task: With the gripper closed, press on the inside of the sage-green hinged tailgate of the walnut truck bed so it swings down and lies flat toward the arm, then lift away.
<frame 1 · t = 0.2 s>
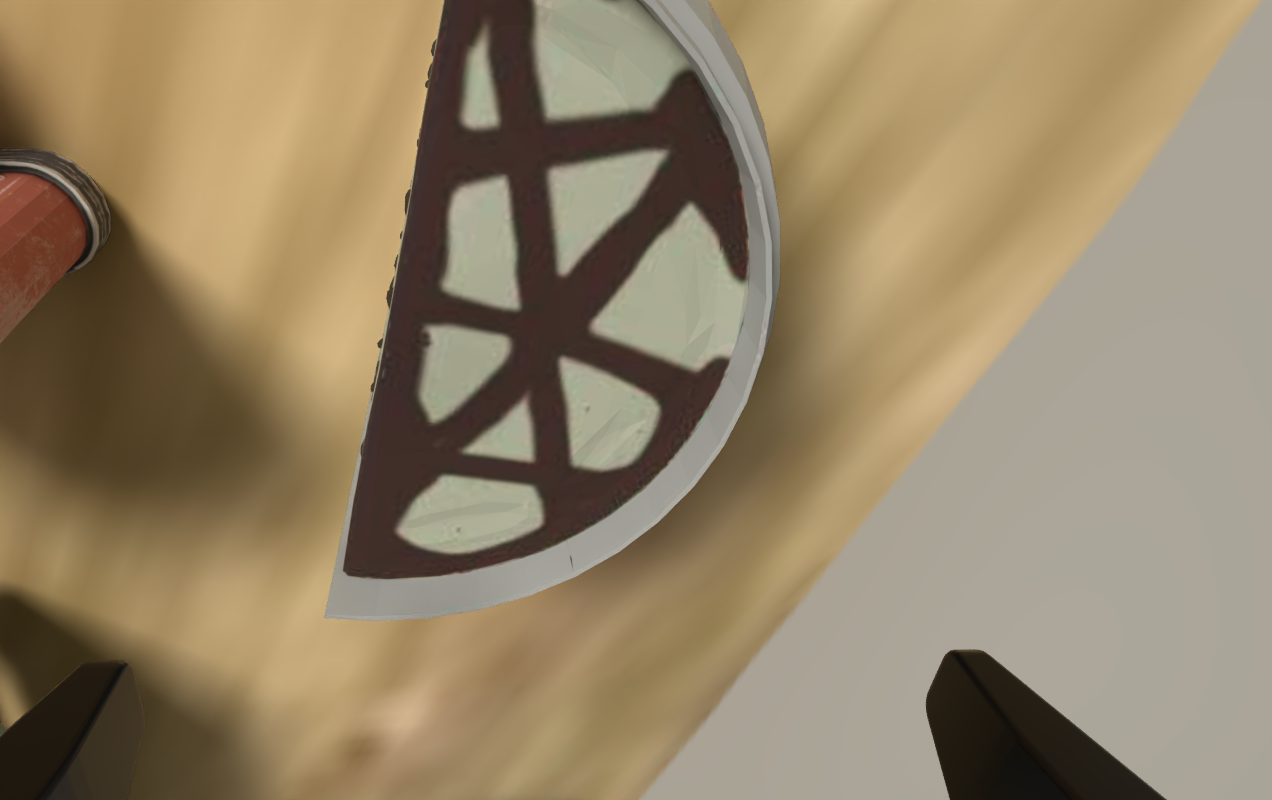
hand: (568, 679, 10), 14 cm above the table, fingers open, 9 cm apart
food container: (553, 151, 21), on the table
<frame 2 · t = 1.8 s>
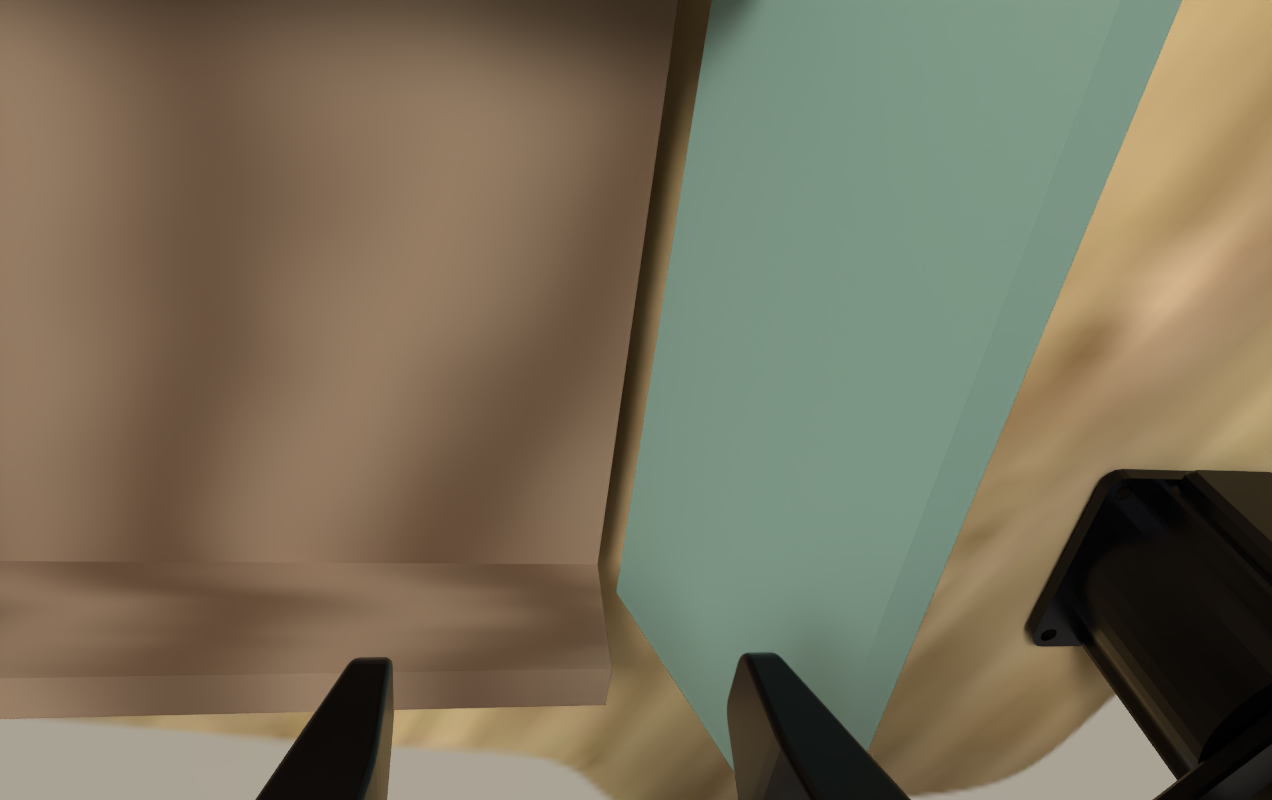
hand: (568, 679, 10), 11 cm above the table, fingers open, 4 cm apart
truck bed: (184, 244, 18), on the table
tailgate: (788, 399, 16), point 5 cm above the table, hinge at 20.0°
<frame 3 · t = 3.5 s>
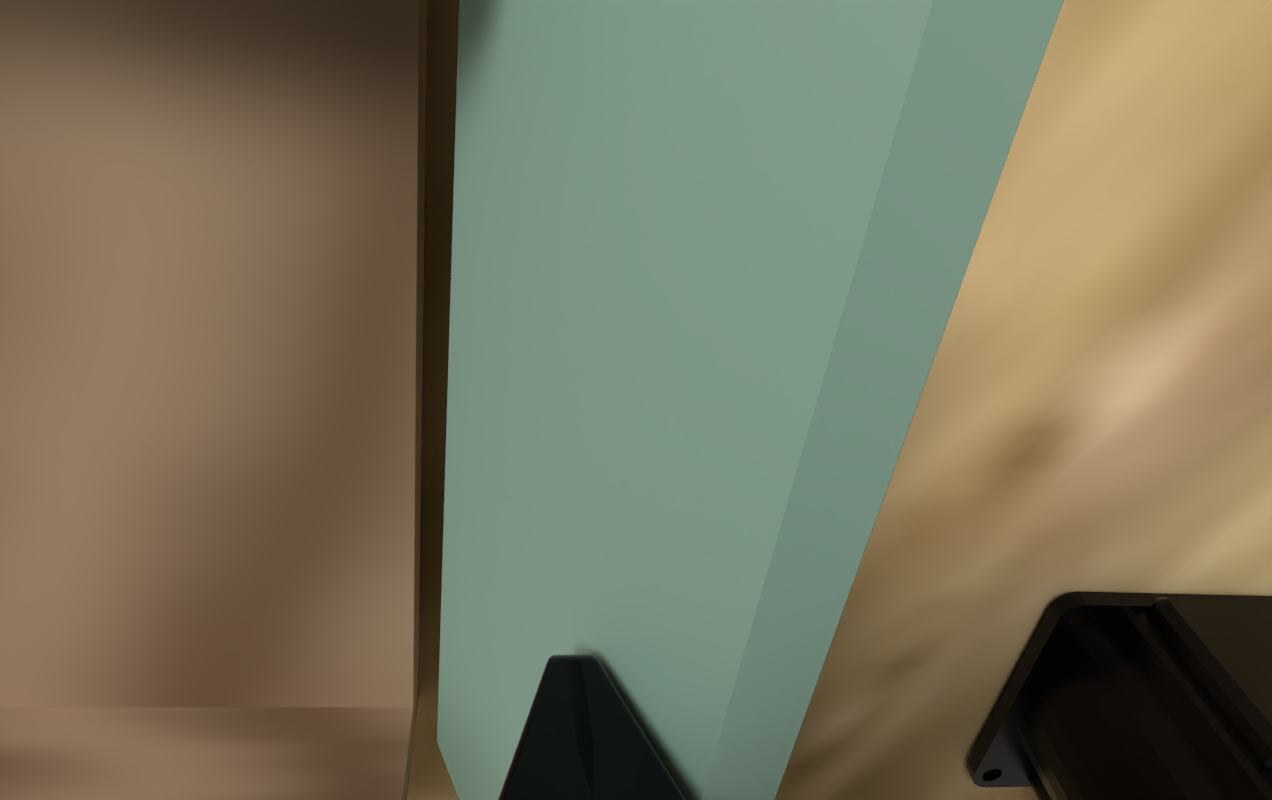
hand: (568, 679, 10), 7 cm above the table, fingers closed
tailgate: (575, 565, 11), point 5 cm above the table, hinge at 21.6°, touching gripper
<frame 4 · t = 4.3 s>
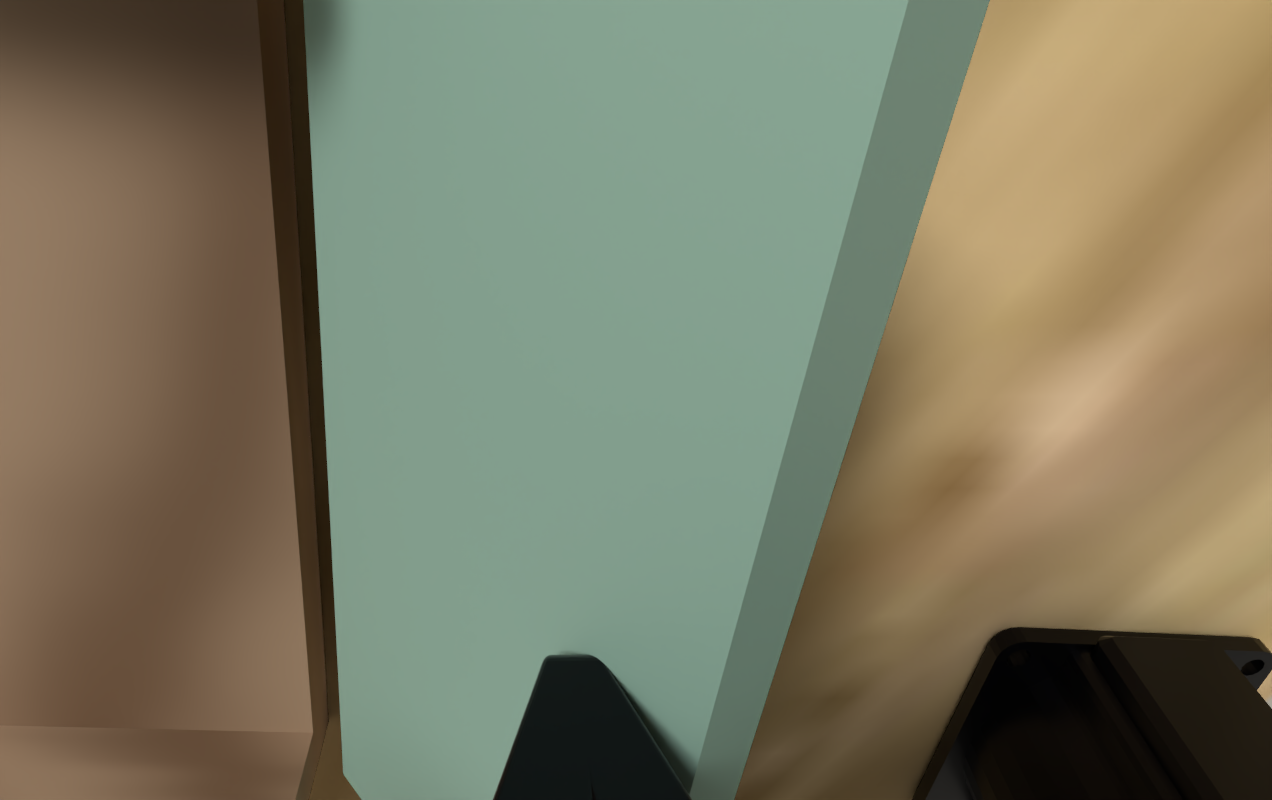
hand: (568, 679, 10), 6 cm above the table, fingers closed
tailgate: (505, 566, 11), point 4 cm above the table, hinge at 39.3°, touching gripper
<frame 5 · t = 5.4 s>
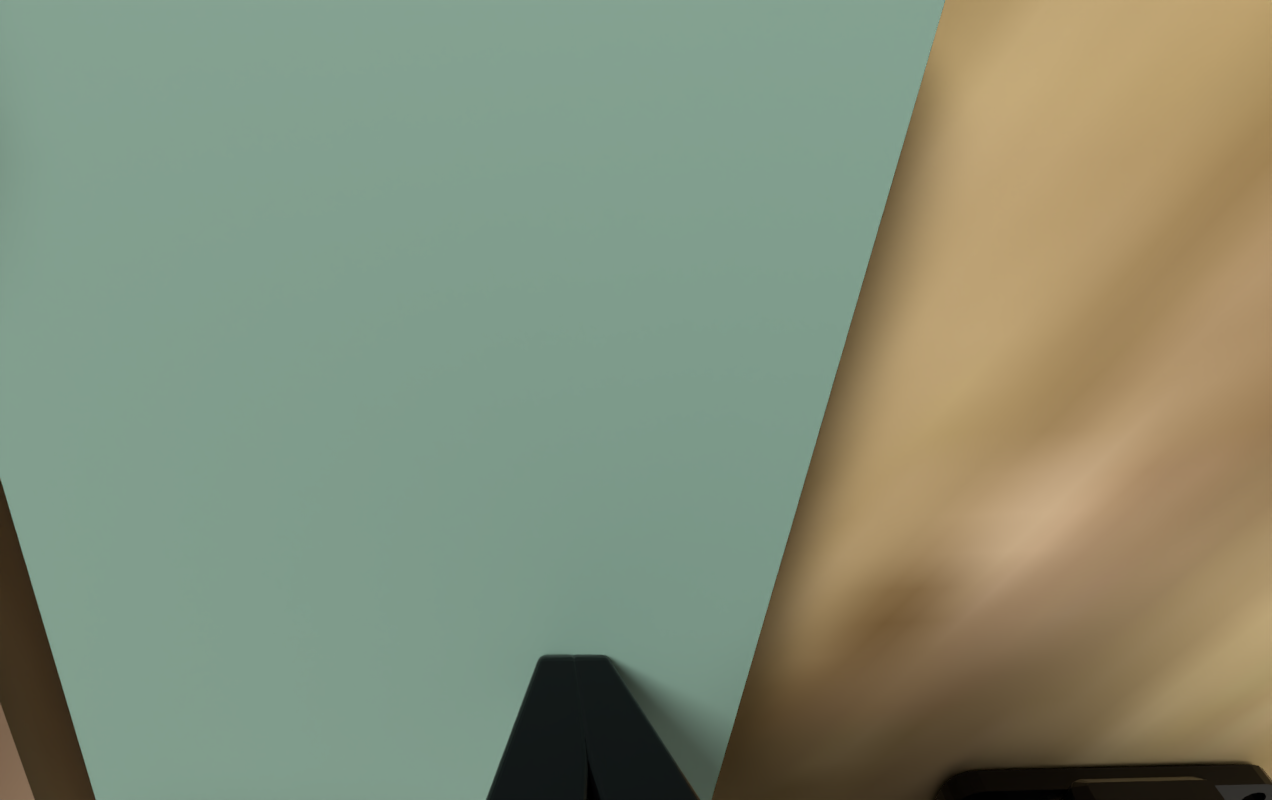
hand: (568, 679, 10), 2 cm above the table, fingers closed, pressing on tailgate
tailgate: (412, 640, 10), point 2 cm above the table, hinge at 83.2°, touching gripper
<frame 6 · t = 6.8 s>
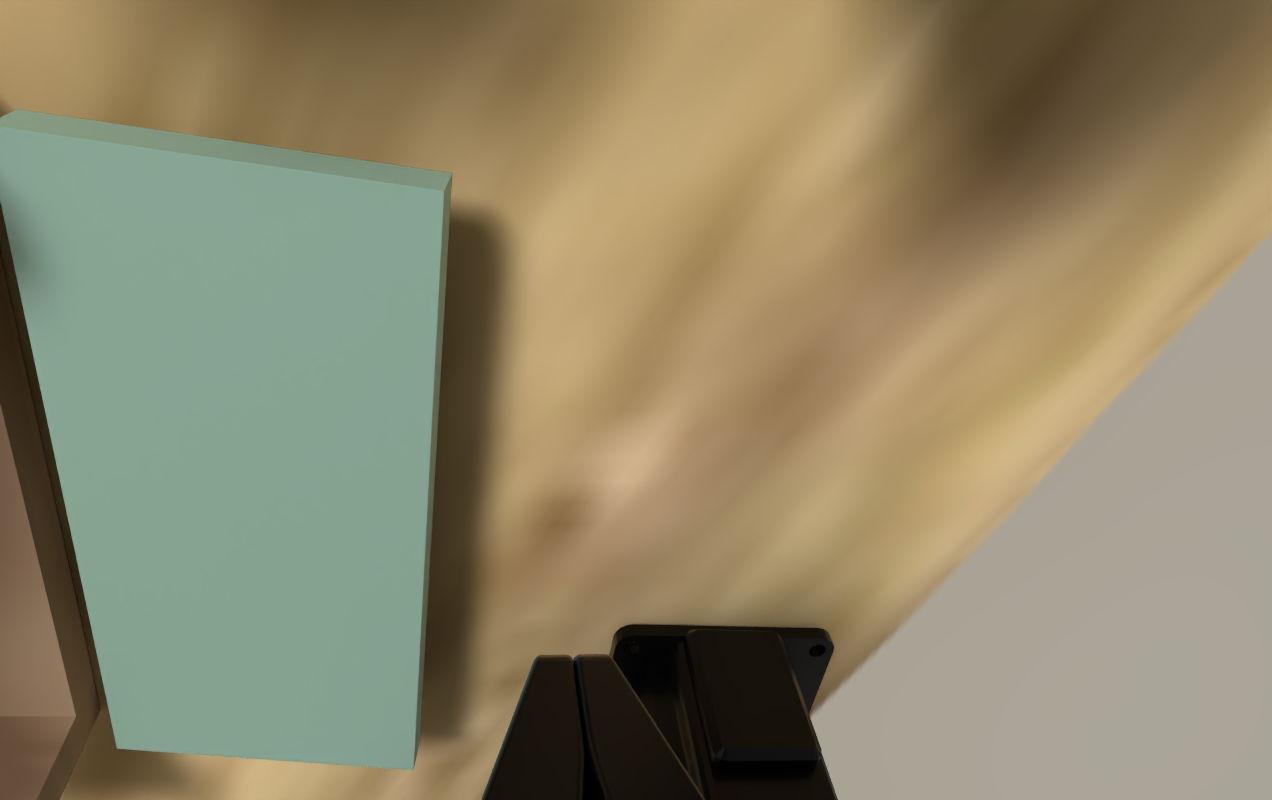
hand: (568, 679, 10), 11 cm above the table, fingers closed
tailgate: (256, 508, 20), point 2 cm above the table, hinge at 84.4°
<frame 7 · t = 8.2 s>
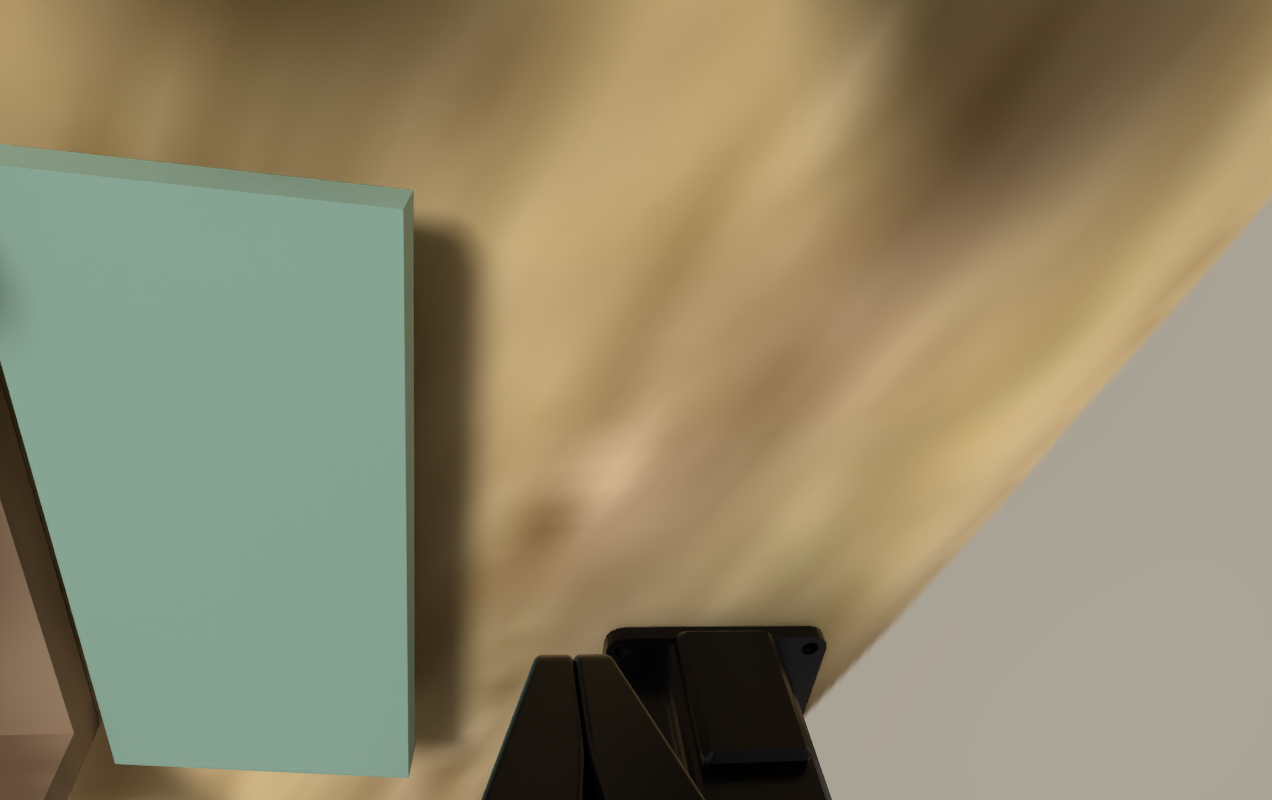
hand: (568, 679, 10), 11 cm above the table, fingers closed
tailgate: (238, 526, 20), point 2 cm above the table, hinge at 84.4°
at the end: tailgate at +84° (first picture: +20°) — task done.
